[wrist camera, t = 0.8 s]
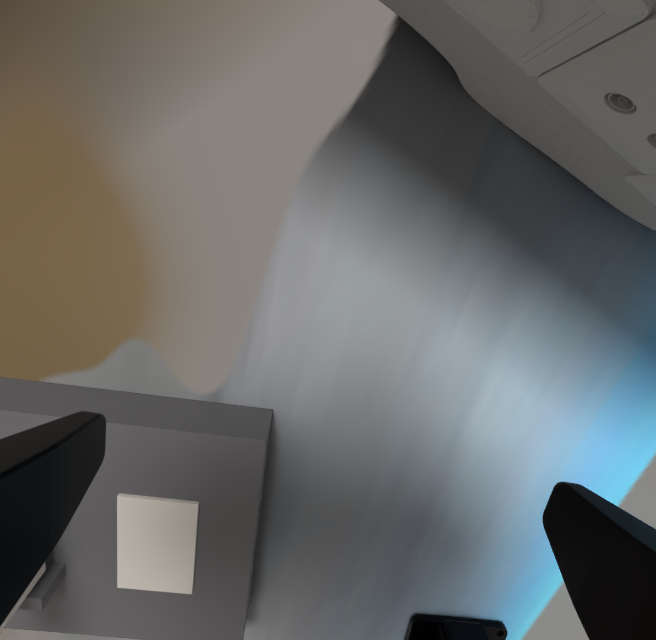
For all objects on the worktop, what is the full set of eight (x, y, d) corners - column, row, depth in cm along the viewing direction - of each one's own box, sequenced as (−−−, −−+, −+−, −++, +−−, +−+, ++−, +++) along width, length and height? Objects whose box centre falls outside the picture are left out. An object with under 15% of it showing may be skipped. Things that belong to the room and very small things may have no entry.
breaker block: (249, 599, 27) (234, 686, 22) (-106, 566, 26) (-204, 652, 21) (272, 409, 23) (260, 466, 18) (-149, 359, 22) (-282, 406, 17)
